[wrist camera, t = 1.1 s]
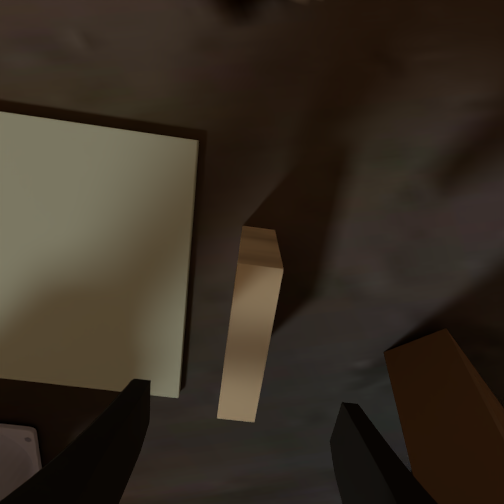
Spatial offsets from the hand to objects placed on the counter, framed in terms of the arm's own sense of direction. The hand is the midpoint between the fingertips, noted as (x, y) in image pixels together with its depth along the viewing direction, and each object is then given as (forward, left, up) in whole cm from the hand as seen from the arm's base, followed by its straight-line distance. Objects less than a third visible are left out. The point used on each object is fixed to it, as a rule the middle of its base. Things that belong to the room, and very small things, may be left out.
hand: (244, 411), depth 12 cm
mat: (0, +11, -9) cm, 14 cm away
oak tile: (0, 0, -10) cm, 10 cm away
